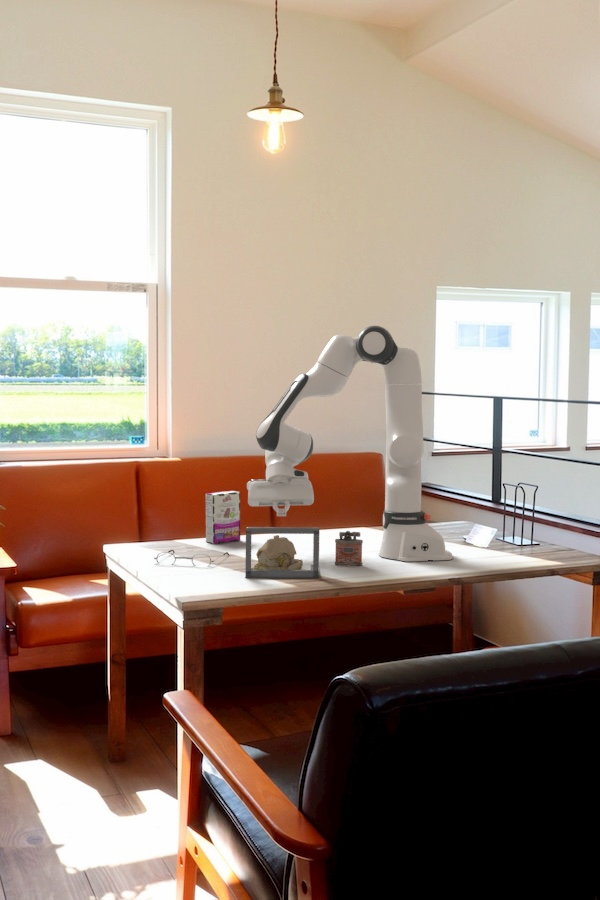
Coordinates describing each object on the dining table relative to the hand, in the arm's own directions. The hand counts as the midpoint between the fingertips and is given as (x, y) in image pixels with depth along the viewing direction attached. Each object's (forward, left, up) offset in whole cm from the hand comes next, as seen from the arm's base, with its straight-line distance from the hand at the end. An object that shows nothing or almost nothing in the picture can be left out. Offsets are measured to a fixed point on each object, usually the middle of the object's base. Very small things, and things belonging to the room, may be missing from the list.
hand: (281, 515), depth 279 cm
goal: (+1, +22, -13) cm, 26 cm away
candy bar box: (+19, -28, -13) cm, 37 cm away
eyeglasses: (+27, +1, -14) cm, 30 cm away
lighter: (-19, +10, -13) cm, 25 cm away
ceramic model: (+2, +16, -14) cm, 21 cm away
